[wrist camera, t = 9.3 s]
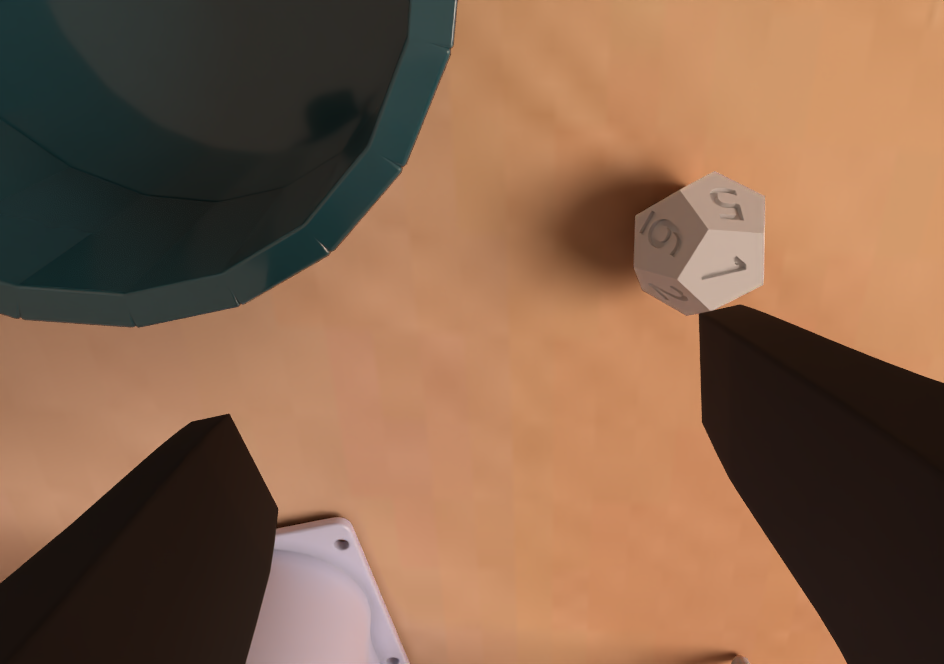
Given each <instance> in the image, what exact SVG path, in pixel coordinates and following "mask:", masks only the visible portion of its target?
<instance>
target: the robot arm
mask: <svg viewBox="0 0 944 664" xmlns="http://www.w3.org/2000/svg"><path fill="white" fill-rule="evenodd" d="M699 333H700V368H701V403H702V423H703V425H704V427H705V430H706V432H707V434H708V436H709V438H710V440H711V442H712V444H713V447H714V449H715V451H716V453H717V455H718V457H719V459H720V461H721V463H722V465H723V467H724V469H725V471H726V473H727V475H728V477H729V479H730V480H731V482H732V484H733V485H734V487H735V488H736V490H737V491H738V493H739V495H740V496H741V498H742V499H743V501H744V502H745V504H746V505H747V507H748V508H749V510H750V511H751V513H752V514H753V516H754V518H755V519H756V521H757V522H758V524H759V525H760V527H761V528H762V530H763V531H764V533H765V534H766V536H767V537H768V539H769V540H770V542H771V543H772V545H773V546H774V548H775V549H776V551H777V552H778V554H779V555H780V557H781V558H782V560H783V561H784V563H785V564H786V566H787V567H788V569H789V570H790V572H791V573H792V575H793V576H794V578H795V579H796V581H797V582H798V584H799V585H800V587H801V588H802V590H803V591H804V593H805V594H806V596H807V597H808V599H809V600H810V602H811V603H812V605H813V606H814V608H815V610H816V611H817V613H818V614H819V616H820V617H821V619H822V621H823V622H824V624H825V626H826V627H827V629H828V631H829V632H830V634H831V636H832V637H833V639H834V640H835V642H836V644H837V645H838V647H839V649H840V651H841V653H842V654H843V656H844V658H845V660H846V662H847V664H944V383H942V382H939V381H936V380H933V379H930V378H927V377H924V376H921V375H919V374H916V373H913V372H911V371H908V370H905V369H903V368H900V367H897V366H895V365H892V364H889V363H887V362H884V361H882V360H879V359H876V358H874V357H871V356H869V355H866V354H864V353H861V352H859V351H856V350H854V349H851V348H849V347H846V346H844V345H841V344H839V343H837V342H834V341H832V340H829V339H827V338H824V337H822V336H820V335H817V334H815V333H812V332H810V331H808V330H805V329H803V328H800V327H798V326H796V325H793V324H791V323H788V322H786V321H783V320H781V319H779V318H776V317H774V316H771V315H769V314H766V313H763V312H761V311H758V310H755V309H753V308H750V307H747V306H744V305H736V306H731V307H727V308H722V309H717V310H713V311H708V312H703V313H699ZM277 517H278V507H277V505H276V503H275V501H274V499H273V498H272V496H271V494H270V492H269V490H268V488H267V486H266V484H265V482H264V480H263V478H262V476H261V474H260V472H259V470H258V468H257V466H256V464H255V463H254V461H253V459H252V457H251V455H250V453H249V451H248V449H247V447H246V445H245V443H244V441H243V439H242V437H241V435H240V433H239V431H238V429H237V427H236V426H235V424H234V422H233V420H232V418H231V416H230V414H226V415H221V416H216V417H212V418H207V419H202V420H197V421H193V422H191V423H189V424H188V425H186V426H185V427H184V428H182V429H181V430H179V431H178V432H177V433H176V434H174V435H173V436H172V437H170V438H169V439H168V440H167V441H166V442H164V443H163V444H162V445H161V446H160V447H158V448H157V449H156V450H155V451H154V452H153V453H151V454H150V455H149V456H148V457H147V458H146V459H145V460H143V461H142V462H141V463H140V464H139V465H138V466H137V467H135V468H134V469H133V470H132V471H131V472H130V473H129V474H128V475H126V476H125V477H124V478H123V479H122V480H121V481H120V482H118V483H117V484H116V485H115V486H114V487H113V488H112V489H111V490H109V491H108V492H107V493H106V494H105V495H104V496H103V497H102V498H100V499H99V500H98V501H97V502H96V503H95V504H94V505H92V506H91V507H90V508H89V509H88V510H87V511H86V512H85V513H83V514H82V515H81V516H80V517H79V518H78V519H77V520H75V521H74V522H73V523H72V524H71V525H70V526H69V527H67V528H66V529H65V530H64V531H63V532H61V533H60V534H59V535H58V536H57V537H55V538H54V539H53V540H52V541H51V542H49V543H48V544H47V545H46V546H45V547H43V548H42V549H41V550H40V551H39V552H37V553H36V554H35V555H34V556H33V557H31V558H30V559H29V560H28V561H27V562H25V563H24V564H23V565H22V566H21V567H20V568H18V569H17V570H16V571H15V572H14V573H12V574H11V575H10V576H9V577H8V578H6V579H5V580H4V581H3V582H2V583H0V664H410V663H409V660H408V658H407V655H406V653H405V651H404V648H403V646H402V643H401V641H400V639H399V636H398V634H397V631H396V629H395V627H394V624H393V622H392V619H391V617H390V615H389V612H388V610H387V607H386V605H385V603H384V600H383V598H382V595H381V593H380V591H379V588H378V586H377V583H376V581H375V579H374V576H373V574H372V571H371V569H370V567H369V564H368V562H367V559H366V557H365V555H364V552H363V550H362V547H361V545H360V543H359V540H358V538H357V535H356V533H355V531H354V528H353V526H352V524H351V523H350V521H349V520H347V519H345V518H342V517H333V518H328V519H323V520H318V521H313V522H307V523H302V524H297V525H292V526H287V527H282V528H277V529H276V526H277ZM339 539H343V540H346V541H340V540H339Z"/></svg>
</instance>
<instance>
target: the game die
mask: <svg viewBox="0 0 944 664" xmlns="http://www.w3.org/2000/svg"><path fill="white" fill-rule="evenodd" d="M764 243H765V196H764V195H762V194H760V193H758V192H756V191H754V190H752V189H750V188H748V187H746V186H744V185H742V184H740V183H738V182H735V181H733V180H731V179H729V178H727V177H725V176H723V175H721V174H719V173H717V172H715V171H714V172H712V173H710V174H708V175H706V176H704V177H703V178H701V179H699V180H697V181H695V182H693V183H691V184H689V185H687V186H685V187H684V188H682V189H680V190H678V191H676V192H675V193H673V194H671V195H670V196H668V197H666V198H664V199H663V200H661V201H659V202H658V203H656V204H654V205H652V206H651V207H649V208H647V209H646V210H644V211H642V212H641V213H639V214H637V215H635V239H634V270H635V273H636V275H637V278H638V280H639V283H640V286H641V288H642V290H643V291H645V292H646V293H648V294H650V295H651V296H653V297H655V298H657V299H658V300H660V301H662V302H664V303H665V304H667V305H669V306H671V307H672V308H674V309H676V310H678V311H679V312H681V313H683V314H685V315H686V316H687V315H693V314H699V313H703V312H708V311H713V310H715V309H717V308H719V307H721V306H723V305H725V304H727V303H729V302H731V301H733V300H735V299H736V298H738V297H740V296H742V295H744V294H746V293H748V292H750V291H752V290H754V289H756V288H758V287H760V286H762V285H763V282H764Z"/></svg>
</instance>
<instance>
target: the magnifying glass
mask: <svg viewBox="0 0 944 664" xmlns="http://www.w3.org/2000/svg"><path fill="white" fill-rule="evenodd" d="M731 664H750V663H749V661H748V659H747V658H746V657H743V656H740V655H737V656H735V657H734V658H733V661H732V663H731Z"/></svg>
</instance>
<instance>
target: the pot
mask: <svg viewBox="0 0 944 664" xmlns="http://www.w3.org/2000/svg"><path fill="white" fill-rule="evenodd" d="M457 3H458V0H0V314H2V315H6V316H9V317H12V318H16V319H19V318H22V319H24V320H32V321H46V322H61V323H75V324H90V325H104V326H118V327H135V326H137V327H144V326H149V325H154V324H158V323H163V322H168V321H173V320H178V319H182V318H187V317H192V316H197V315H201V314H206V313H211V312H216V311H220V310H225V309H230V308H235V307H239V306H240V305H242V304H246V303H248V302H249V301H251V300H253V299H255V298H256V297H258V296H260V295H261V294H263V293H265V292H267V291H268V290H270V289H272V288H274V287H275V286H277V285H279V284H280V283H282V282H284V281H286V280H287V279H289V278H291V277H293V276H294V275H296V274H298V273H300V272H301V271H303V270H305V269H306V268H308V267H310V266H312V265H313V264H315V263H317V262H319V261H320V260H322V259H324V258H325V257H327V256H329V254H330V253H331V252H332V251H334V250H336V248H337V247H338V246H339V245H340V244H341V243H342V241H343V240H344V239H345V238H346V237H347V236H348V234H349V233H350V232H351V231H352V230H353V229H354V227H355V226H356V225H357V224H358V223H359V222H360V220H361V219H362V218H363V217H364V216H365V215H366V213H367V212H368V211H369V210H370V209H371V208H372V206H373V205H374V204H375V203H376V202H377V201H378V199H379V198H380V197H381V196H382V195H383V194H384V192H385V191H386V190H387V189H388V188H389V187H390V185H391V184H392V183H393V182H394V181H395V180H396V179H397V177H398V176H399V175H400V174H401V172H402V169H403V167H404V166H405V165H406V164H407V162H408V159H409V157H410V154H411V152H412V150H413V147H414V145H415V142H416V140H417V137H418V135H419V132H420V130H421V127H422V125H423V122H424V120H425V117H426V115H427V112H428V110H429V107H430V105H431V103H432V100H433V98H434V95H435V93H436V90H437V88H438V85H439V83H440V80H441V78H442V75H443V73H444V70H445V68H446V65H447V63H448V60H449V58H450V55H451V48H453V46H454V35H455V25H456V14H457Z"/></svg>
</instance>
